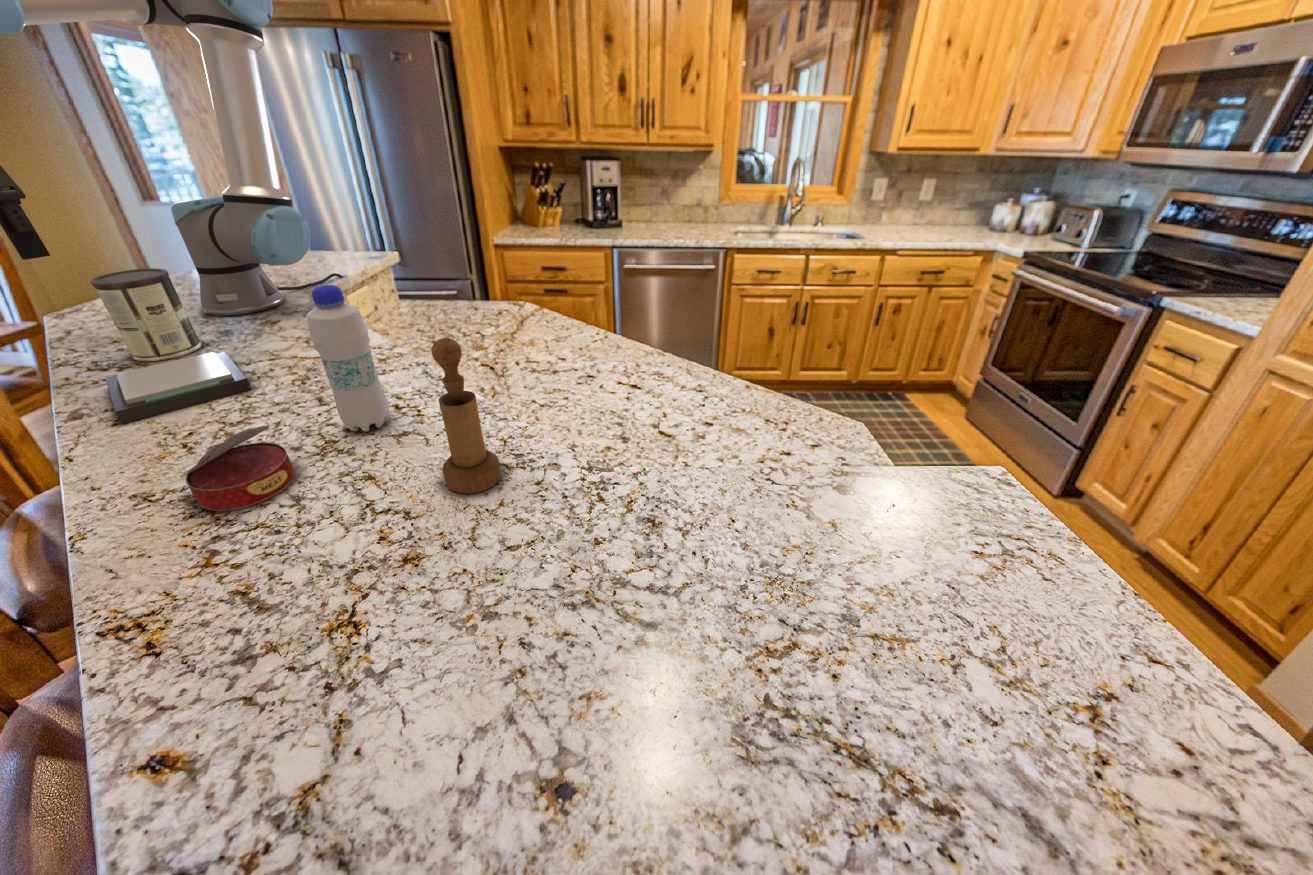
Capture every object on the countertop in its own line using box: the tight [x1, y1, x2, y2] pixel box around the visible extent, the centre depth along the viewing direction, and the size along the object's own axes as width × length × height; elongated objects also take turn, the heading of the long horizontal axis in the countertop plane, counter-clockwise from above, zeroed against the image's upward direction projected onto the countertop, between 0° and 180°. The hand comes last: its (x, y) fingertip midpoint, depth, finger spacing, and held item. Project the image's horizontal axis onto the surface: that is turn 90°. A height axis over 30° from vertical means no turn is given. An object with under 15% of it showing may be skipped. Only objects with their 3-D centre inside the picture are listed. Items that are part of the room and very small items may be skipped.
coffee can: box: [89, 268, 202, 362], centre depth 96 cm, size 10×10×14 cm
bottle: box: [306, 284, 390, 432], centre depth 71 cm, size 7×7×20 cm
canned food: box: [179, 425, 296, 512], centre depth 62 cm, size 11×10×10 cm
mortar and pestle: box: [431, 337, 502, 494], centre depth 61 cm, size 7×6×18 cm
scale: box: [104, 351, 252, 425], centre depth 85 cm, size 16×16×3 cm
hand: (11, 258), depth 75 cm, fingers open, 13 cm apart
